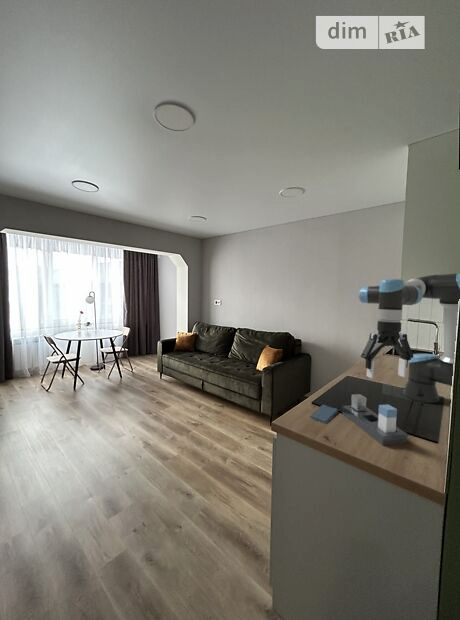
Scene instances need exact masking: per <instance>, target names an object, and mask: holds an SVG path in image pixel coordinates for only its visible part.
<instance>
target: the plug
mask: <svg viewBox="0 0 460 620" xmlns="http://www.w3.org/2000/svg"><path fill="white" fill-rule="evenodd" d="M378 415H379V417H378V428H379V429H381V430H382V431H383V432H385V433H394V432H396V427H397V415H398V409H397V408H396V407H393V406H392V405H390V404H379V405H378Z"/></svg>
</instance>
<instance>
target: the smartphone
mask: <svg viewBox="0 0 460 620" xmlns="http://www.w3.org/2000/svg"><path fill="white" fill-rule="evenodd" d="M338 412H339V410H338V408H335V407H332V406H329V405H326V404H322V405H320V406H319V407H318V408H317V409H316V410H315V411H314V412H313V413H311V414H310V415H309V418H310V419H311V420H313V421H317V422H319V423H321V424H328V423H329V422H330V420H332V418H334V417H335V416H336V414H338Z"/></svg>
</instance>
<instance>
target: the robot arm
mask: <svg viewBox="0 0 460 620" xmlns="http://www.w3.org/2000/svg"><path fill="white" fill-rule="evenodd" d="M358 299H359V301H360V302H361V303H362V304H368V305H369V304H376V305H377V304H378V311H377V319H378V321H377V325H376V326H377V327H376V330H377V333H369V339H368V341H367V342H366V345H365V347H364V349H363V350H362V352H361V355H360V357H361V358H362V359H364V360H365V368H366V377H368V378H370V379H374V376H375V375H374V374H375V373H374V371H375V360H374V359H375V357H377V355H378V354H379V352H380V351H381V350H382V349H383V348H384V347H385V348H386V347H389V346H391V347H393V349H395V351H396V352H397V354H398V355H399V359H398V369H397V371H398V372H397V375H398V376H399V377H402V378H406V376H407V375H408V377H407V382H406V383H405V386H404V388H403V395H404V396H405V397H406V398H409V399H411V400H414V401H418V402H422V403H428V404H435V403H439V402H440V395H439V393H438V389H437V385H436V384H437V383H439V384H443V385H446V386H450V387H453V386H452V376H453V364H454V352H455V341H456V326H457V312H458V301H459V299H460V272H458V273H447V274H430V275H423V276H420V277H416V278H411V279H409V280H407V281H404V280H403V279H402V278H399V279H398V278H387V279H382V280H381V281H380V282H379V285H373V286H372V285H369V286H363V287H361V288H360V290H359V292H358ZM423 299H433V300H437V299H438V300H439V302H438V303H439V305H441V306H442V307H443V354H442V355H441V356H440V357H439V356H438V355H436V354H432V353H413V351H412V349H411V346H410V342H409V340H408V333H407V334H406V333H403V332H402V322H401V321H402V320H403V307H404V306H412V305H417V304H419V303H420V302H421V301H422V300H423ZM401 332H402V333H401ZM400 357H401V358H400ZM407 368H408V374H407Z"/></svg>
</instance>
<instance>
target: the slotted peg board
mask: <svg viewBox="0 0 460 620" xmlns="http://www.w3.org/2000/svg"><path fill="white" fill-rule="evenodd" d="M367 400H368V399H367V397H366V396H364V395H363V394H361V393H358V394H357V393H356V394H351V399H350V401H351V405H342V408H341V409H342V414H343V415H344V416H345V417H346V418H348V419H349V420H350V421H351V422H353V423H354V424H355V425H356V426H358V427H359V428H360V429H361V430H363V431H364V432H365V433H367V435H368V436H370V437H371V438H373V440H375V441H376V442H378V443H379V444H380V445H381V446H389V445H398V444H399V445H400V444H407V443H408V433H407V432H406V431H404V430H402V429H401V428H399V427H398V426H396V432H394V433H385V432H383V431H382V430H381V429H379V428H378V417H379V413H378V414H377V413H376V412H374V411H373V410H372V409H370V408H368V407H367Z"/></svg>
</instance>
